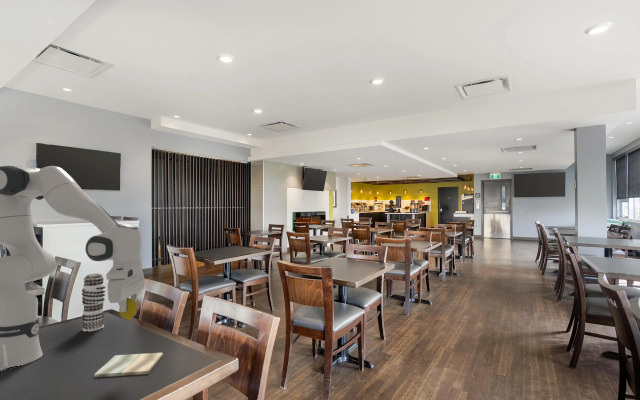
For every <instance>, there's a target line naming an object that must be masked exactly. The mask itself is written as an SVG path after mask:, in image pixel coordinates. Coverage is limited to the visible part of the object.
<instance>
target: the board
mask: <svg viewBox="0 0 640 400" xmlns="http://www.w3.org/2000/svg"><path fill="white" fill-rule="evenodd" d="M163 356H164V352H154V353H153V352H151V353H149V352H148V353H135V354H134V353H132V354H116V355H115V354H114V356H112V358H110V359H109V360H108V361H107V362H106V363H105V364H104V365H103V366H102V367H100V368H99V369H98V370H97V371H96V372H95V373H94V374H93V375H94V376H93V377H94V378H104V377H105V378H106V377H120V376H121V377H123V376H137V375H149V374H150V373H151V371H152V370H153V368H155V367H156V365H157V364H158V362H159V361H160V360H161V358H162V357H163Z"/></svg>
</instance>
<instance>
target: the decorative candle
mask: <svg viewBox="0 0 640 400" xmlns="http://www.w3.org/2000/svg"><path fill="white" fill-rule="evenodd" d="M104 278H105V276H104V275H103V274H102V273H89V274H87V275H86V276H85V277H84V278H83V286H82V287H83V288H82V289H81V292H82V293H81V296H82V297H81V299H82V301H81V302H82V306H83V310H82V316H81V317H82V322H81V325H82V326H81V328H82V330H81V331H83V332H86V331H88V332H94V331H99V330H101V328H102V329H103V328H104V327H105V318H104V317H105V309H104V302H105V298H104V297H105V296H106V294H105V292H106V291H105V289H106V288H107V287H106V286H105V282H104Z"/></svg>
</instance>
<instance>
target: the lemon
mask: <svg viewBox="0 0 640 400" xmlns="http://www.w3.org/2000/svg"><path fill="white" fill-rule="evenodd" d="M130 298H131V297H128V298H127V299H126V306H128V307H127V309H128V310H127V311H125V312H120V307H119V309H118V310H119V311H118V312H119V315H120V317H121V318H123V319H126V320H127V321H131V319H132V318H135V316H136V315H137V313H138V305H137V301H136V302H135V300H133V299H130Z"/></svg>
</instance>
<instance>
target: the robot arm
mask: <svg viewBox="0 0 640 400" xmlns="http://www.w3.org/2000/svg"><path fill="white" fill-rule="evenodd" d="M34 199H36V200H38V201H41V200H43V199H44V200H45V201H46V203H47V204H48V205H49V206H50V207H51V209H53V210H54V212H56V213H58V214H60V215H62V216H65V217H70V218H71V217H72V218H76V219H81V220H84V221H87V222H89V223H91V224H93V225H94V227H96V228H97V229H98V230H99V232H101V233H99V234H96V235H93V236H91V237H89V239H88V240H87V241H86V244H85V247H84V249H85V250H84V251H85V253H86V256H87V257H88V258H89V259H90V260H91V261H92V262H93V261H94V262H105V261H111V260H112V266H111V268H110V270H109V271H108V272H107V273H106V275H105V278H106V280H108V281H107V299H108V301H109V303H110V304H113V303H114V304H115V303H117V304H118V306H119V308H120V312H125V311H127V310H128V309H127V307H128V306H126V299H127V298H130V299H133V300H135V302H136V303H137V298H138V294H139V292H140V291H142V290H143V289H145V276H144V275H145V273H144V271H143V264H142V263H143V262H142V256H141V251H142V236H141V230H140V229H139V227H138V226H136V225H134V224H130V223H129V224H128V223H120V224H119V223H118V222H117V221H116V220H115V219H114V217H112V216H111V215H110V214H109V213H108V212H107V210H105V209H104V208H103V207H102V206H101V205H100V204H99V203H98V202H96V201H95V200H94V199H92V198H91V197H90V196H89V195H88V194H87V193H86V192H85V191H84V190H83V188H81V186H80V185H79V183H77V181H75V179H74V178H73V177H72V176H71V175H70V174H69V173H67V171H66V170H64V169H63V168H61V167H59V166H56V165H49V166H44V167H42V168H38V167H34V166H33V167H32V166H15V165H2V166H1V165H0V245H1V246H4V247H5V248H6V249H7V250H8V252H9V253H10V255H6V256H5V255H4V256H0V370H3V369H6V368H9V367H14V366H18V367H21V366H24V365H28V364H29V363H32V362H35V361H36V360H39V359H40V358H42V357H43V355H44V353H43V351H42V347H41V345H40V338H39V330H40V318H39V317H38V316H39V315H38V313H39V311H38V310H39V309H38V308H39V307H38V305H39V300H38V298H37V296H36V295H34V294H32V293H30V292H28V291H27V289H26V284H27V283H31V282H34V281H37V280H38V281H39V280H41V279H43V278H46V277H48V276H49V275H52V274H53V273H54V272H55V270H56V267H57V262H56V258H55V257H54V255H53V254H51V253H49V252H48V251H46V250H45V249H44V248H43V247H42V245H41V244H40V243H39V241H38V239H37V237H36V234H35V229H34V223H33V215H32V209H31V203H32V201H33V200H34ZM120 312H119V313H120ZM20 365H21V366H20ZM14 368H15V367H14Z"/></svg>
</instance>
